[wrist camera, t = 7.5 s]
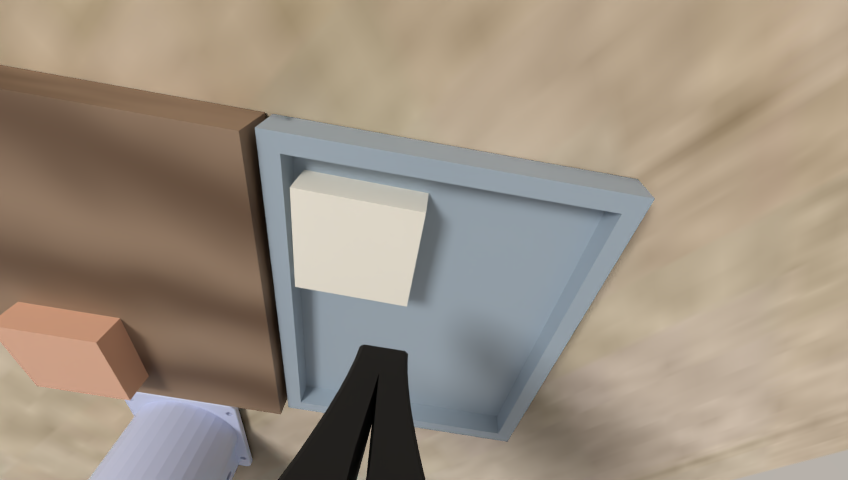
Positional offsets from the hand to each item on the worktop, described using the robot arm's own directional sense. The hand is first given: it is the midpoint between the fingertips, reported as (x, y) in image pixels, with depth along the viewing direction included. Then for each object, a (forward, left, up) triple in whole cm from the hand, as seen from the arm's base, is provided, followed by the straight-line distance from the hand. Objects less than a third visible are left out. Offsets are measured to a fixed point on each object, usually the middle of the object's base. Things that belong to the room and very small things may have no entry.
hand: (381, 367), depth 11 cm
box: (-4, -1, -7) cm, 8 cm away
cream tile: (0, +2, -6) cm, 7 cm away
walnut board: (-4, +13, -7) cm, 16 cm away
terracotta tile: (-9, +16, -5) cm, 19 cm away
